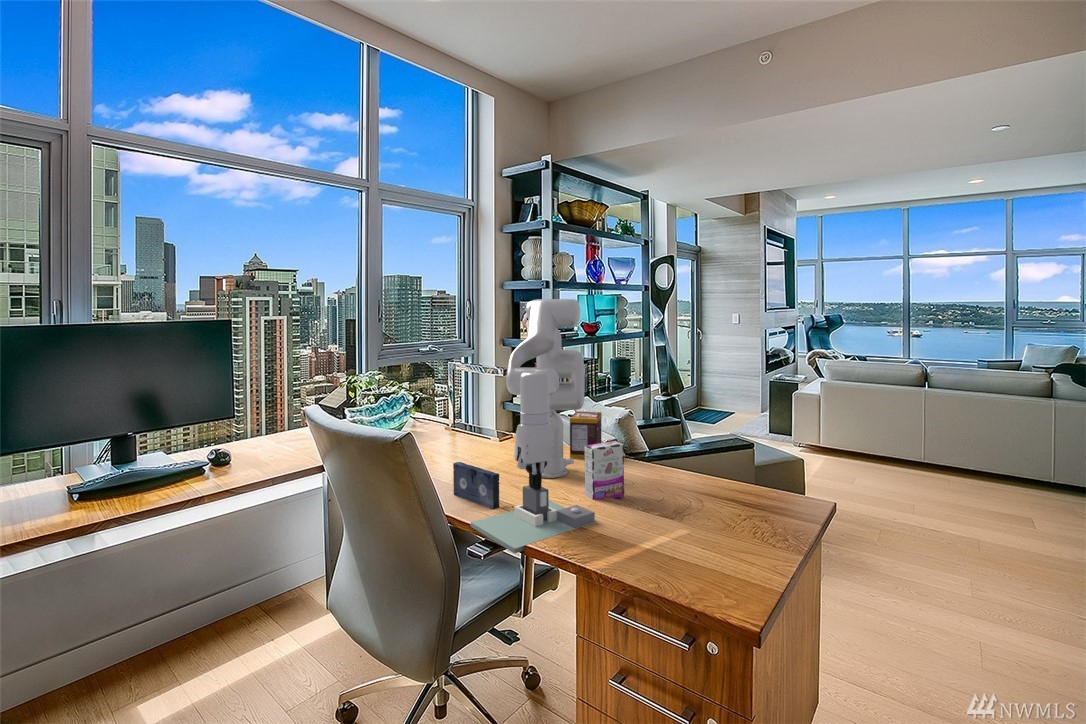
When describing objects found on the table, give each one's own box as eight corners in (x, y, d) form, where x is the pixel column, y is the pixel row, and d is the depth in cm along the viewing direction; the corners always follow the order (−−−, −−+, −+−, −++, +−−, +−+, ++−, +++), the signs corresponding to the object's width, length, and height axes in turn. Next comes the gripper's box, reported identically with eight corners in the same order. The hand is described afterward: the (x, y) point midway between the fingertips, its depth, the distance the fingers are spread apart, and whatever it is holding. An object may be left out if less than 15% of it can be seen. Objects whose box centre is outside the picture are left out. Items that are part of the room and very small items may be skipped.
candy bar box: (614, 492, 165) (615, 440, 164) (624, 497, 161) (625, 443, 159) (583, 498, 160) (583, 444, 159) (592, 504, 156) (593, 448, 154)
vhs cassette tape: (500, 507, 154) (499, 473, 153) (492, 510, 151) (491, 475, 151) (461, 492, 166) (460, 461, 166) (453, 495, 164) (452, 463, 163)
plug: (535, 512, 146) (534, 483, 145) (550, 520, 141) (550, 490, 140) (522, 516, 144) (522, 486, 143) (537, 523, 138) (537, 493, 138)
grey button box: (576, 513, 145) (576, 502, 145) (594, 521, 140) (594, 510, 139) (556, 519, 141) (556, 508, 141) (574, 528, 135) (574, 516, 135)
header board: (549, 504, 155) (549, 492, 155) (597, 525, 140) (597, 512, 139) (470, 526, 140) (470, 512, 139) (514, 553, 124) (514, 538, 124)
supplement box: (601, 449, 217) (601, 411, 216) (596, 460, 202) (596, 418, 201) (576, 448, 220) (576, 410, 218) (569, 458, 205) (569, 417, 203)
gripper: (548, 413, 147) (548, 479, 149) (502, 420, 138) (503, 490, 140) (566, 417, 142) (566, 485, 143) (519, 424, 132) (520, 497, 134)
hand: (535, 487), depth 142 cm, fingers closed
